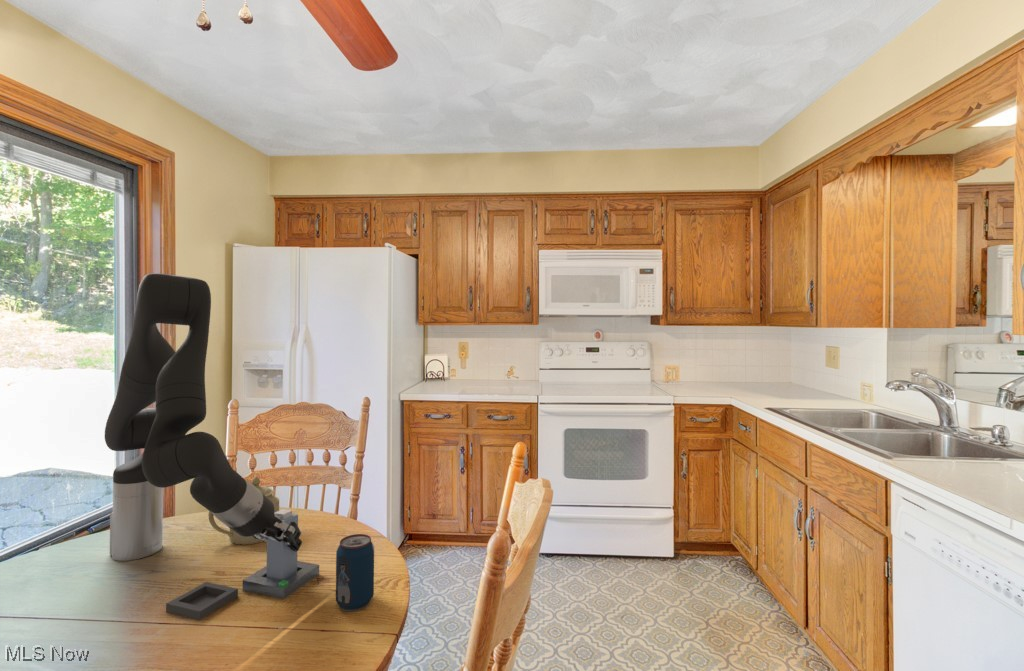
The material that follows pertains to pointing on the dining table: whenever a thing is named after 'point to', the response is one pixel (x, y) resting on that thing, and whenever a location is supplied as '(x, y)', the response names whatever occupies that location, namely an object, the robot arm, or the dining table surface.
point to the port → (277, 587)
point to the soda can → (354, 572)
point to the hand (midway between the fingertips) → (289, 545)
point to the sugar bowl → (233, 535)
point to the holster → (202, 600)
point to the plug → (281, 552)
